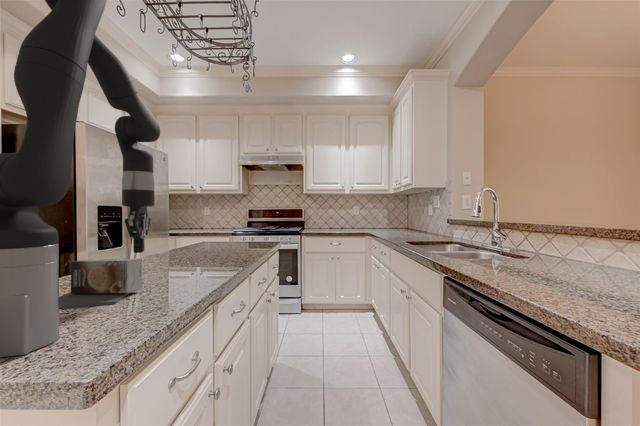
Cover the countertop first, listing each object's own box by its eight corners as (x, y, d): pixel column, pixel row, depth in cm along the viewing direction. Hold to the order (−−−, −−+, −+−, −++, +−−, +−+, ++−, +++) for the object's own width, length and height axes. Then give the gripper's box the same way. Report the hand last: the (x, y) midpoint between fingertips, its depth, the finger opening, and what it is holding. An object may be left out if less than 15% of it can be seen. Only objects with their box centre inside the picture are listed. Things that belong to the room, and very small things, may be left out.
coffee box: (126, 294, 76) (69, 295, 77) (142, 289, 82) (90, 290, 83) (126, 259, 76) (70, 261, 77) (142, 257, 83) (90, 259, 84)
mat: (115, 303, 71) (115, 301, 71) (36, 310, 67) (36, 307, 67) (132, 291, 83) (132, 288, 83) (66, 295, 78) (66, 293, 78)
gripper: (146, 187, 72) (146, 255, 72) (160, 191, 85) (160, 248, 85) (112, 186, 70) (112, 256, 70) (131, 190, 83) (132, 249, 83)
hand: (139, 252), depth 78 cm, fingers closed
